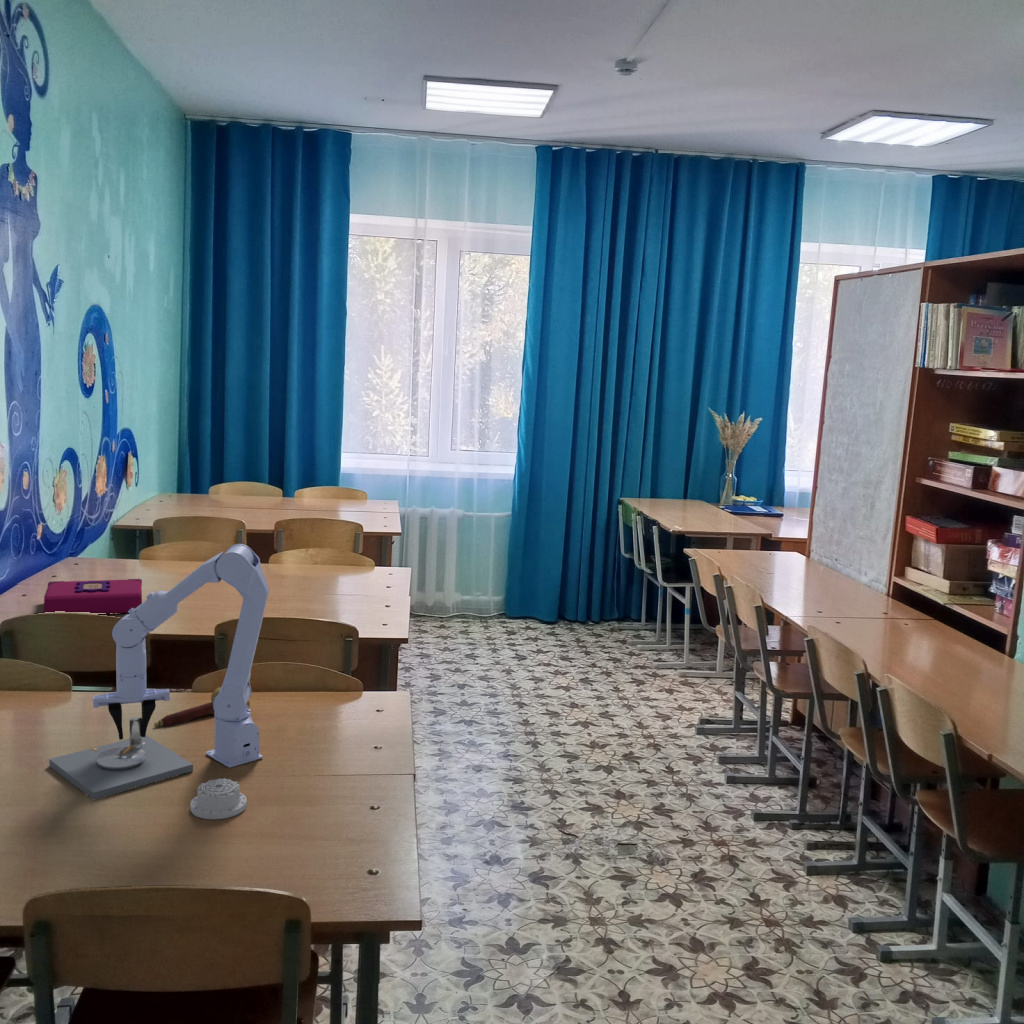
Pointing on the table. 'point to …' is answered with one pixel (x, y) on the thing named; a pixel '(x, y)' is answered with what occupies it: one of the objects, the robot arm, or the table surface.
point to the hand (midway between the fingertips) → (132, 736)
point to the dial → (125, 750)
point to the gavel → (190, 712)
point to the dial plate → (106, 782)
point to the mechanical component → (218, 800)
